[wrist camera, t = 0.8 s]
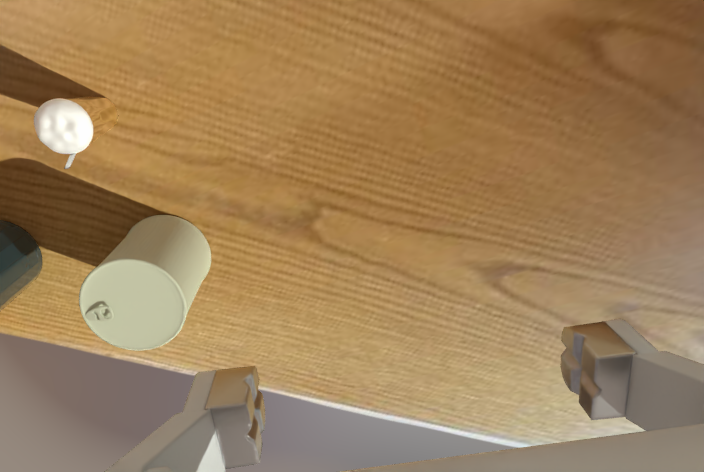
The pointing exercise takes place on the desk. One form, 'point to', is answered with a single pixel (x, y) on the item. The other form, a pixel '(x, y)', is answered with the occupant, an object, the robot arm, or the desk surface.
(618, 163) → the desk surface
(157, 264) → the can
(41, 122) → the milkshake
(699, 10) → the desk surface
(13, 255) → the pen cup
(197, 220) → the desk surface
